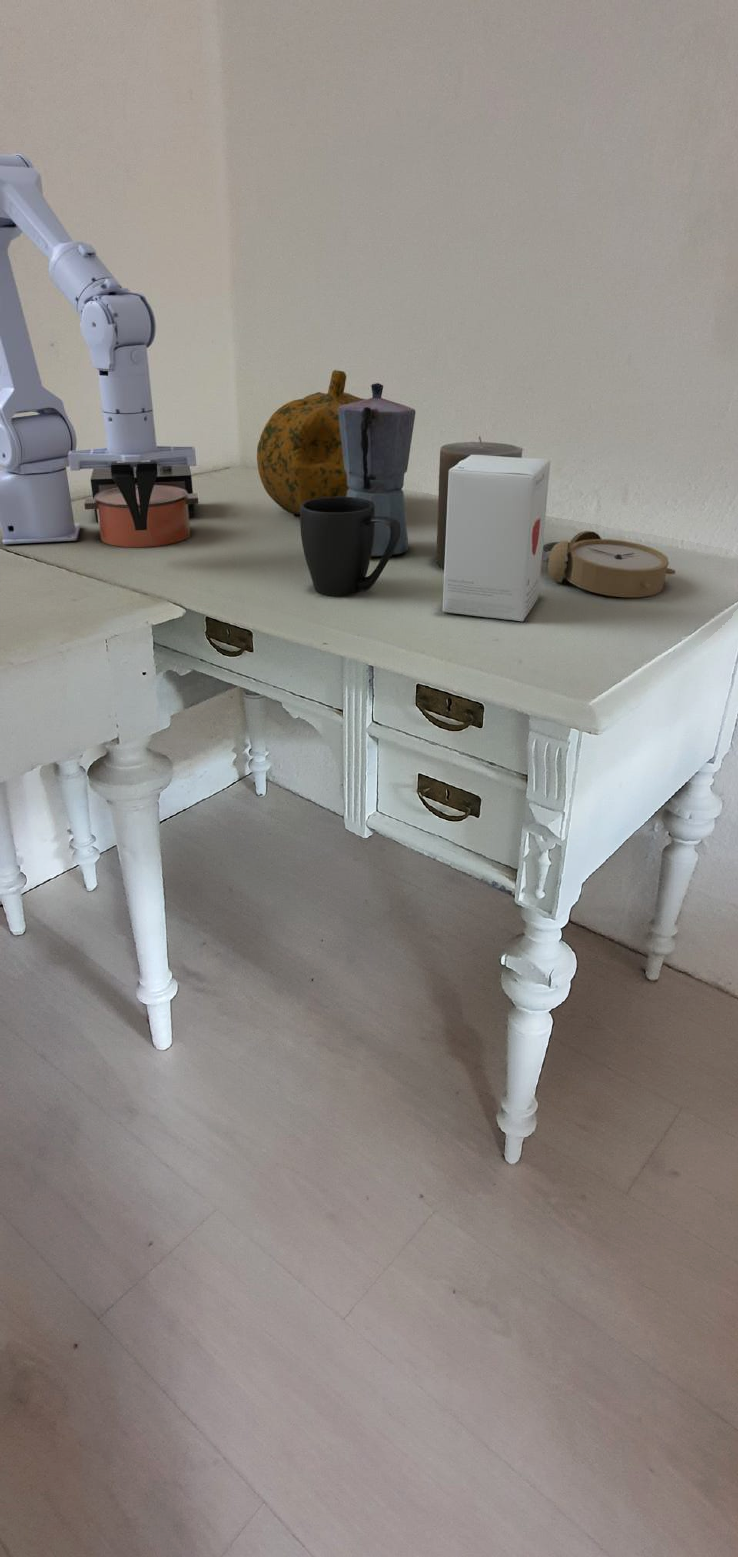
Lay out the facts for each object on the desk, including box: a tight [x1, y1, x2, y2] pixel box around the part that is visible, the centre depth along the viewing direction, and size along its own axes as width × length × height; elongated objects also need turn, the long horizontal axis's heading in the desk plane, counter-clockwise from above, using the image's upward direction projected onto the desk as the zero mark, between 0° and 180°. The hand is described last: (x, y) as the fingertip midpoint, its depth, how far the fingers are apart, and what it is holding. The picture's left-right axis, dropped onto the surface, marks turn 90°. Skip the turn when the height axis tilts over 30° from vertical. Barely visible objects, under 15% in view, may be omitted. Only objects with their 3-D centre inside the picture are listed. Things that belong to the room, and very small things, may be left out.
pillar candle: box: [436, 435, 524, 569], centre depth 116 cm, size 10×10×15 cm
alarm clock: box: [542, 530, 676, 598], centre depth 112 cm, size 11×5×15 cm
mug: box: [299, 497, 400, 597], centre depth 107 cm, size 8×12×10 cm
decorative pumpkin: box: [256, 369, 367, 516], centre depth 138 cm, size 20×21×20 cm
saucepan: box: [83, 485, 199, 548], centre depth 130 cm, size 15×12×6 cm
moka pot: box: [338, 382, 416, 557], centre depth 119 cm, size 10×15×20 cm, turn 174°
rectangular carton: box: [442, 455, 551, 622], centre depth 101 cm, size 9×9×15 cm
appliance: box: [90, 465, 196, 523], centre depth 142 cm, size 14×9×7 cm, turn 101°
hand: (141, 528), depth 118 cm, fingers closed
